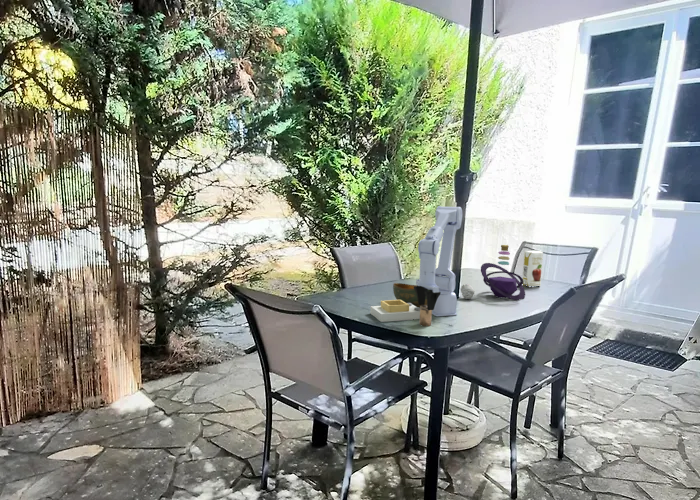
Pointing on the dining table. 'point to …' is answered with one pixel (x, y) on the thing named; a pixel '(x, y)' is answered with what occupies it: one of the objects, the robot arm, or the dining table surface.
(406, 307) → the tray with yellow box
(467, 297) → the white bumpy ball
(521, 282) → the decorative bottle
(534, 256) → the juice carton
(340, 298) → the dining table surface
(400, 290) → the green brown bowl
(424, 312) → the copper can
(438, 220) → the robot arm
